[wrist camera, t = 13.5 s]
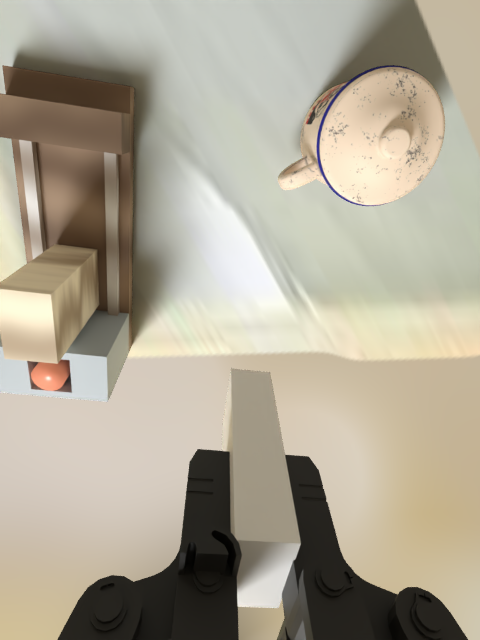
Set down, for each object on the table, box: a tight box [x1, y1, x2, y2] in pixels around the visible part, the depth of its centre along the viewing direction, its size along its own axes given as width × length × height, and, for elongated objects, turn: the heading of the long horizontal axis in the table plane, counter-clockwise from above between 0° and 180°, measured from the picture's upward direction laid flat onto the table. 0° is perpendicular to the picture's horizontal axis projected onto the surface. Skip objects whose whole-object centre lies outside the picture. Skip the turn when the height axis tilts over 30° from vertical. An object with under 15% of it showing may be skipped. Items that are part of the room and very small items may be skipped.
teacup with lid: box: [278, 65, 445, 206], centre depth 30 cm, size 12×9×12 cm
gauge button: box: [31, 359, 70, 391], centre depth 35 cm, size 3×3×4 cm
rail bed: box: [0, 65, 134, 351], centre depth 36 cm, size 26×10×4 cm, turn 172°
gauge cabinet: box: [0, 310, 129, 402], centre depth 38 cm, size 5×10×10 cm, turn 82°
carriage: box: [0, 244, 99, 364], centre depth 33 cm, size 6×4×11 cm, turn 172°
